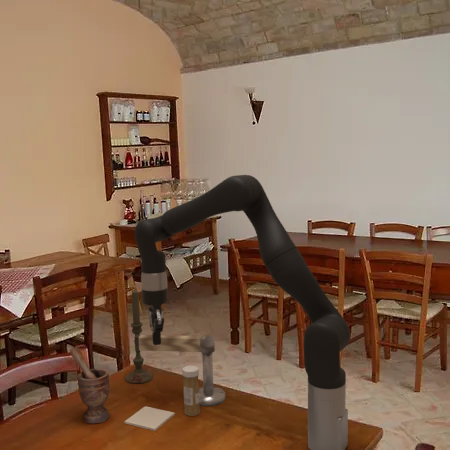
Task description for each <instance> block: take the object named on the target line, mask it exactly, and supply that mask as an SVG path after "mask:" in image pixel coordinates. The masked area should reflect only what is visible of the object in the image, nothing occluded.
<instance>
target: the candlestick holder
mask: <svg viewBox="0 0 450 450" xmlns="http://www.w3.org/2000/svg"><path fill="white" fill-rule="evenodd" d="M139 296H140V293H139V291H138V290H135V289H134V290H132V291H131V303H132V304H131V305H132V323H131V322H130V327H131V332H132V334H133V335H134V337H133V338H134V340H133V341H134V342H133V343H134V344H135V336H136V335H137V334H141V333H142V331H143V329H142V326H143V322H141V318H140V317H141V316H140V297H139ZM144 360H145V359H144V358H143V357H142V355H141V350H139V351H135V357H134V358H133V360H132V362H133V365H134V366H135V369H134V370H132V371H131V372H129V373H128V374H127V375H126V376H125V378H124V380H125V382H127V383H128V384H134V385H141V384H146V383H149V382H150V381H151V380H153V379H154V374H153V373H152V372H151V371H148V370H146V369H144V368H143V367H142V366H143V364H144Z"/></svg>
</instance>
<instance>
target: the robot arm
mask: <svg viewBox="0 0 450 450" xmlns="http://www.w3.org/2000/svg"><path fill="white" fill-rule="evenodd" d="M230 212H243V213H244V214H245V215H246V217H247V219H248V220H249V222H250V223H251V225H252V227H253V229H254V231H255V233H256V237H257V244H258V250H259V254H260V258H261V260H262V262H263V264H264V266H265V268H266V269H267V271H268V273H269V274H270V276H271V278H272V280H273V281H274V282H275V283H276V285H277V287H279V288H281V290H283V291H284V292H285V293H286V294H288V295H289V296H290V297H291V298H292V299H293V300H295V301H296V302H297V303H298V304H299V305H300V306H301V307H302V309H303V311H305V313H306V315H307V317H308V318H309V320H310V322H311V324H309V325H308V326H307V327H306V329H305V331H304V335H303V357H304V359H303V361H304V369H305V373H306V375H307V447H308V449H309V450H346V448H347V447H348V445H349V444H348V442H349V441H348V440H349V439H348V436H349V434H348V432H349V430H348V429H349V425H348V424H349V423H348V422H349V421H348V419H349V418H348V417H349V416H348V415H349V411H348V409H347V408H346V404H347V403H346V400H347V398H346V390H347V388H346V387H347V386H346V385H347V383H346V382H347V381H346V378H347V377H346V371H345V369H344V368H342V367H341V355H340V354H341V353H340V352H341V351H343V350H344V349H345V348H346V347H347V346H348V345H349V343H350V342H351V341H350V340H351V331H350V327H349V325H348V322H346V320H345V318H344V317H343V316H342V315H341V313H340V312H339V310H338V309H337V308H336V307H335V305H334V304H333V303H332V302H331V300H330V299H329V297H328V296H327V295H326V293H325V292H324V290H323V288H322V287H321V286H320V283H319V282H318V280H317V279H316V277H315V276H314V274H313V272H312V271H311V269H310V267H309V265H308V264H307V263H306V261H305V259H304V257H303V255H302V254H301V252H300V250H299V249H298V247H297V245H296V244H295V243H294V241H293V239H292V238H291V237H290V235H289V234H288V232H287V230H286V228H285V227H284V224H283V223H282V222H281V221H280V219H279V217H278V216H277V214H276V212H275V209H274V208H273V206H272V203H271V202H270V200H269V197H268V196H267V194H266V192H265V189H264V187H263V185H262V184H261V182H260V181H259V180H258V179H257V178H256V177H254V176H253V175H249V174H239V175H232V176H228V177H227V178H226V179H223V181H221V182H219V183H218V184H217V185H215V186H214V187H213V188H211V189H209V190H208V191H206V192H205V193H203V194H201V195H200V196H197V197H195V198H194V199H191V200H188V201H186V202H183V203H181V204H178V205H177V206H175V207H172V208H170V209H168V210H166V211H165V212H164V213H163V214H161V215H160V216H157V217H151V218H146V219H141V220H139V222H137V223H136V225H135V228H134V239H135V243H136V247H137V250H138V253H139V256H140V259H141V262H140V263H141V266H140V267H141V278H140V283H141V301H142V302H141V303H142V304H143V305H146V306H148V307H149V308H147V315H148V323H149V327H150V328H151V329H150V331H151V333H152V334H151V335H152V337H153V344H154V345H160V344H161V333H162V332H163V331H164V323H165V318H164V317H163V316H164V309H163V307H162V305H165V304H167V302H168V301H169V298H168V297H169V292H168V291H169V289H168V275H167V262H166V261H167V260H166V255H165V252H164V251H162V250H159V249H158V248H157V245H156V243H160V242H163V241H165V240H167V239H169V238H171V237H173V236H175V235H176V234H179V233H182V232H184V231H186V230H189V229H192V228H194V227H196V226H197V225H199V224H201V223H202V222H204V221H205V220H207V219H208V218H212V217H214V216H217V215H221V214H225V213H230Z"/></svg>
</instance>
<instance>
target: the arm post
mask: <svg viewBox="0 0 450 450" xmlns="http://www.w3.org/2000/svg"><path fill="white" fill-rule="evenodd" d="M201 356H202V357H201V358H202V361H201V362H202V384H203V385H202V387H199V406H200V407H213V406H218V405H220V404H223V403H224V402H225V400H226V392H225V390H223V389H222V388H221V387H216V386H214V364H213V362H214V361H213V360H214V359H213V353H207V354H206V353H201Z"/></svg>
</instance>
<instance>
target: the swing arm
mask: <svg viewBox="0 0 450 450" xmlns="http://www.w3.org/2000/svg"><path fill="white" fill-rule="evenodd" d="M134 337H135V338H134V340H135V343H134V351H135V352H136V351H139V350H140V351H148V352H150V351H152V352H186V353H187V352H188V353H200V354H202V353H206V354H207V353H212V354H213V353H214V352H215V350H216V347H215V346H216V345H215V337H214V336H213V335H206V334H205V335H201V336H200V335H198V336H197V335H161V344H160V345H154V344H153V337H152V334H141V333H140V334H137V335H136V336H135V335H134Z"/></svg>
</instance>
